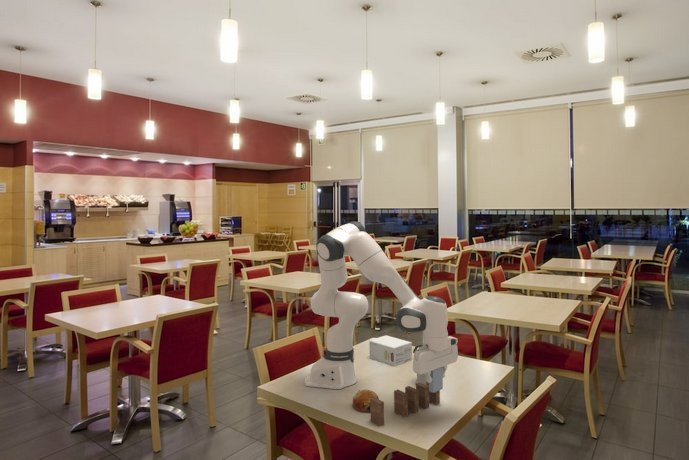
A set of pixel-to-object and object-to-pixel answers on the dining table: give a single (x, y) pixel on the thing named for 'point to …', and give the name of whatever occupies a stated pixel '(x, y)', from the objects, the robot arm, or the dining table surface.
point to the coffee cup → (419, 377)
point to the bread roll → (363, 400)
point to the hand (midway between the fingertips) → (435, 379)
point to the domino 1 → (377, 411)
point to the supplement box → (390, 350)
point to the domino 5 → (436, 380)
